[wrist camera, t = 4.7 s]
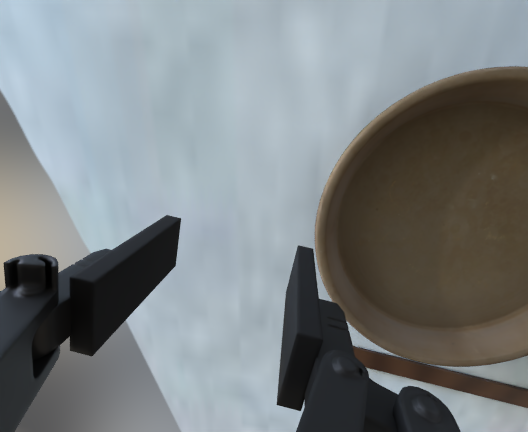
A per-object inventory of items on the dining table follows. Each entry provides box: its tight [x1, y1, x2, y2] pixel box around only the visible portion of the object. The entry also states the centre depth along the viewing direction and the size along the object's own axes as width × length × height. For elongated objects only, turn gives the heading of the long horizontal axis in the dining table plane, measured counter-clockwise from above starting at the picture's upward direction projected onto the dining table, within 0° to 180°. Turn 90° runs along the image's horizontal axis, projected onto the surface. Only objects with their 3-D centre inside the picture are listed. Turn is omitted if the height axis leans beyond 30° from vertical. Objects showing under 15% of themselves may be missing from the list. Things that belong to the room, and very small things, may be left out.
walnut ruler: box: [353, 346, 528, 408], centre depth 38 cm, size 30×2×1 cm, turn 79°
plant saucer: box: [315, 66, 528, 367], centre depth 30 cm, size 31×31×5 cm
